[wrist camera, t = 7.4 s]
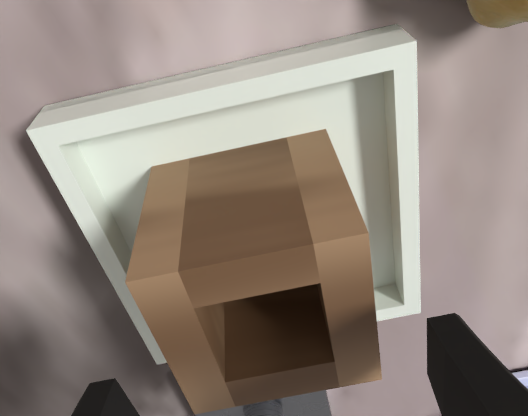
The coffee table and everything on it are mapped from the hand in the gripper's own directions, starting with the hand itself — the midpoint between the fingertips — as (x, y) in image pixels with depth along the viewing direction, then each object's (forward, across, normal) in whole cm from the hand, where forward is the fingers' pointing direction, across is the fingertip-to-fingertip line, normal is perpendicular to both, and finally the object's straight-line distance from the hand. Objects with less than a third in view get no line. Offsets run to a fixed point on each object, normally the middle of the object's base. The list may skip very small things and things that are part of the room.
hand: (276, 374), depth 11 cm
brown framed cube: (+6, 0, 0) cm, 6 cm away
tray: (+7, 0, 0) cm, 7 cm away
